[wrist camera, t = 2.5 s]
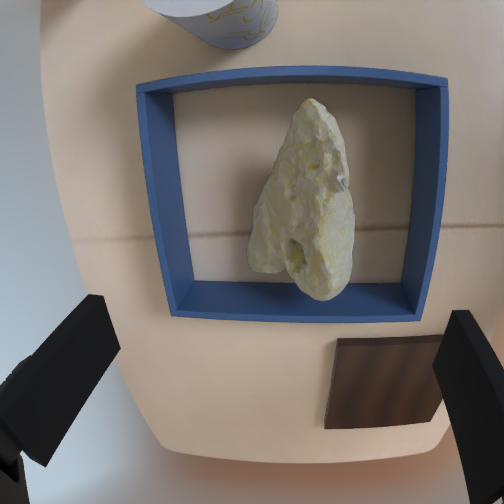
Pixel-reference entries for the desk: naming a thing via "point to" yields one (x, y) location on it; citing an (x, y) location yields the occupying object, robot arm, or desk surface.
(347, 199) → the pale grey rough stone
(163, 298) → the desk surface
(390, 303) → the blue rectangular frame
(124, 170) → the desk surface
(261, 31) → the white cylinder
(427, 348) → the board
